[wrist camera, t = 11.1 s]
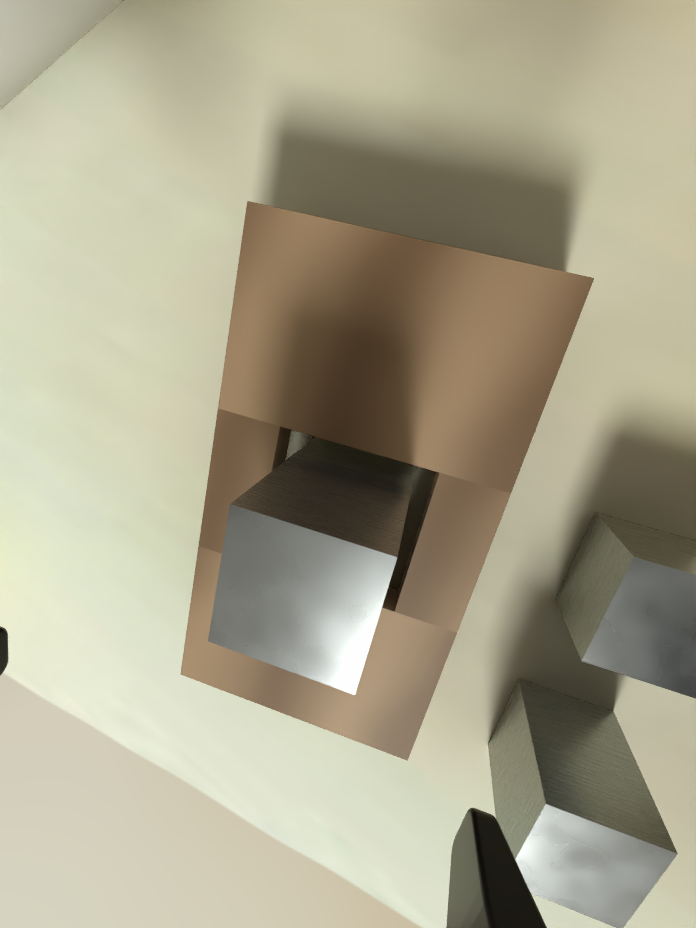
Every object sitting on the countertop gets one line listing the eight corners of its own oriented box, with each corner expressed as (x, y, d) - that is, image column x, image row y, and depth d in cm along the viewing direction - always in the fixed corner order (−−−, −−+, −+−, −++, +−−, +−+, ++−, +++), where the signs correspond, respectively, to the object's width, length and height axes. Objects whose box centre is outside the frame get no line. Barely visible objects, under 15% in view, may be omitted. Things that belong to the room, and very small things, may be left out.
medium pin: (612, 710, 20) (677, 853, 15) (575, 776, 22) (621, 929, 16) (518, 678, 21) (545, 804, 15) (488, 744, 22) (502, 881, 17)
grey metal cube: (706, 543, 18) (778, 598, 14) (657, 630, 19) (710, 703, 15) (594, 511, 18) (633, 556, 14) (555, 598, 20) (581, 661, 16)
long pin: (418, 459, 19) (397, 557, 11) (391, 546, 20) (354, 694, 12) (322, 431, 20) (229, 503, 11) (303, 518, 21) (207, 641, 12)
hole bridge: (563, 290, 16) (594, 278, 13) (412, 698, 22) (407, 760, 19) (284, 226, 17) (247, 201, 14) (216, 627, 24) (180, 674, 21)
